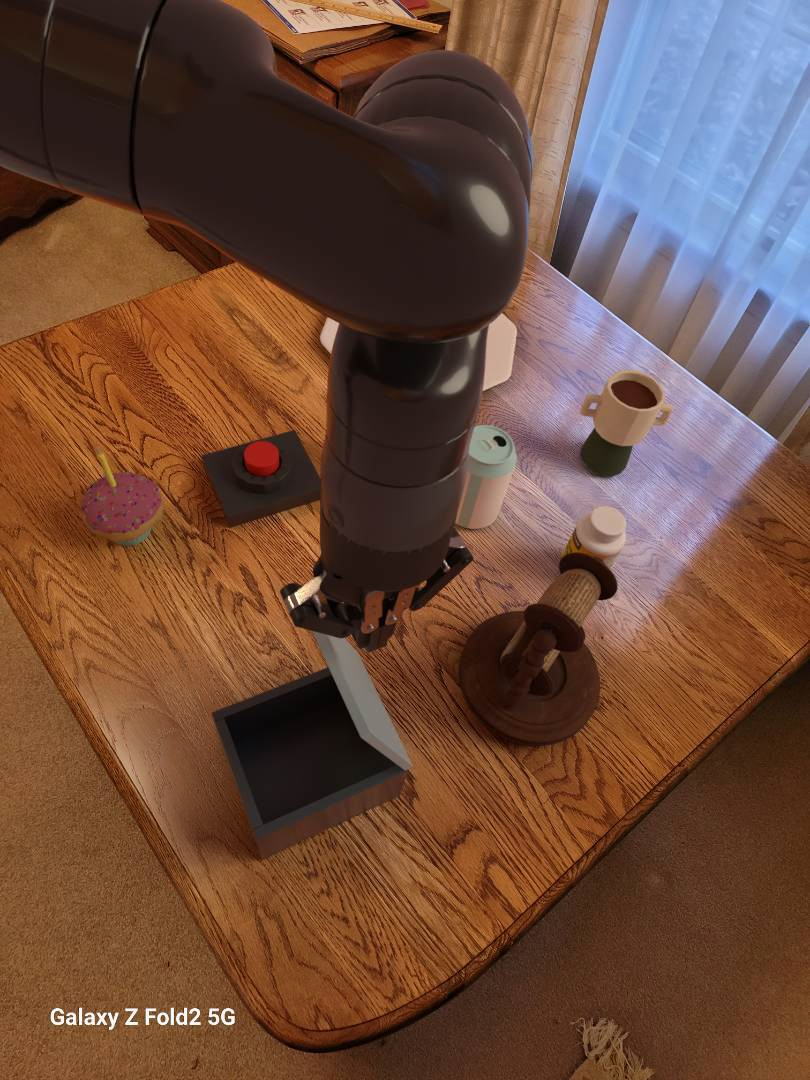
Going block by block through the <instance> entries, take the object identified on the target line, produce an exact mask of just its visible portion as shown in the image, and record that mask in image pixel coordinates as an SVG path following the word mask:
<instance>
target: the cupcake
mask: <svg viewBox="0 0 810 1080" xmlns="http://www.w3.org/2000/svg"><path fill="white" fill-rule="evenodd" d="M96 450H97V458H98V460H99V463H100V465H101V467H102V470H103V472H104V474H103V475H102V477H98V478H97V479H96V480H95V481H94V482H93V483H90V484H89V486H88V487H87V489H86V490H85V491H84V495H83V500H82V501H81V502H82V506H81V511H82V518H83V522H84V523H85V524H86V526H87V527H88V528H89V529H90V530H91V531H92V533H93V534H94V535H95V536H96V537H100V538H101V539H105V540H108V541H111V542H113V543H115V544H116V545H119V546H123V547H129V546H135V545H138V544H140V543H142V542H144V541H145V540H146V539H147V538H148V537H149V535H150V533H151V531H152V528H153V526H154V525H156V523H157V522H159V521H160V520H161V519H162V517H163V514H164V509H165V506H164V500H163V497H162V492H161V491H160V489H159V486H158V484H157V482H154V481H152V480H151V479H150V478H148V477H146V476H144V475H142V474H141V473H138V472H136V473H133V472H130V471H125V472H121V471H118V472H112V470H111V468H110V464H109V462H108V461H107V458H106V455H105V453H104V452H101V449H100V447H96Z"/></svg>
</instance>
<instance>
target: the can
mask: <svg viewBox="0 0 810 1080" xmlns="http://www.w3.org/2000/svg"><path fill="white" fill-rule="evenodd" d="M517 461H518V456H517V451H516V448H515V442H514V441H513V438H512V437H511V436H510V434H508V432H506V431H505V430H503V429H501V428H499V427H497V426H494V425H488V424H480V425H475V427H474V431H473V434H472V438H471V442H470V446H469V452H468V468H467V477H466V482H465V487H464V490H463V494H462V498H461V502H460V506H459V510H458V513H457V517H456V521H455V525H458V526H460V527H462V528H466V529H471V530H477V529H484V528H487V527H489V526H490V525H492V524H493V523H494V522H495V521H496V520H497V518H498V517H499V515H500V511H501V509H502V506H503V502H504V501H505V497H506V494H507V490H508V488H509V485H510V482H511V479H512V476H513V473H514V470H515V468H516V465H517Z"/></svg>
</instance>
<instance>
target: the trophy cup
mask: <svg viewBox="0 0 810 1080" xmlns="http://www.w3.org/2000/svg"><path fill="white" fill-rule="evenodd" d="M665 398H666V393H665V391H664V388H663V387H662V385H661V384H660V383H659V382H658V381H657V380H656V379H655V378H654V377H652V376H651V375H649V374H647V373H646V372H644V371H643V372H642V371H640V370H636V369H620V370H619V371H616V372H614V373H613V374H612V375H610V377H608V379H607V380H606V382H605V385H604V387H603V390H602V392H601V394H593V393H589V394H587V395H586V396H585V398H584V400H583V403H582V405H581V407H580V410H579V413H580V415H581V416H583V417H589V418H592V422H593V426H594V427H593V429H592V431H590V433H589V435H588V436H587V437H586V439H585V441H584V442H583V444H582V445H581V448H580V454H579V455H580V458H581V461H582V463H583V464H584V465H585V466H586V467H587V469H588V470H589V471H591V472H592V473H594V474H596V475H598V476H600V477H606V478H607V477H608V478H612V477H614V476H618V475H620V474H621V473H622V472H623V471H624V470H626V469H627V466H628V463H629V461H630V457H631V454H632V450H633V447H634V445H638V444H639V443H641V442H642V441H643V440H644V438H645V437H646V436H647V435H648V433H649V432H650V430H651V428H652V426H659V427H660V426H665V425H666V424H667V422H668V421H669V418H670V417H671V415H672V413H673V411H674V406H673V405H672V404H670V403H665ZM592 404H596V406H595V408H591V406H592ZM659 412H662V414H661V416H658V415H659Z"/></svg>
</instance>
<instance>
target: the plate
mask: <svg viewBox="0 0 810 1080" xmlns="http://www.w3.org/2000/svg"><path fill="white" fill-rule="evenodd" d="M503 313H504V312H502V313H501V314H500V315H499V316H498V318H497V319H495V320H494V321H493V322H492V323H491V324H489V329H488V336H487V346H486V363H485V376H484V386H483V393H484V392H486V391H489V390H491V389H493V388H495V387H498V386H499V385H502V384H504V383H507V381H508V380H510V378H511V375H512V371H513V365H514V364H513V363H514V357H515V351H516V342H517V335H518V329H517V327H516V324H514V322H513V321H511V320H510V319H509V318H508V317H507V316H506V315H505V314H503ZM338 326H339V323H338V322H336V321H334V320H332V319H330V318H328V317H326V320H325V322H324V325H323V327H322V330H321V333H320V335H319V340H320V344H321V346H322V347H323V348H324V349H325V350H326V351H327V352H328V354H329V355H330V356H331V351H332V347H333V343H334V339H335V336H336V332H337V329H338Z"/></svg>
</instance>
